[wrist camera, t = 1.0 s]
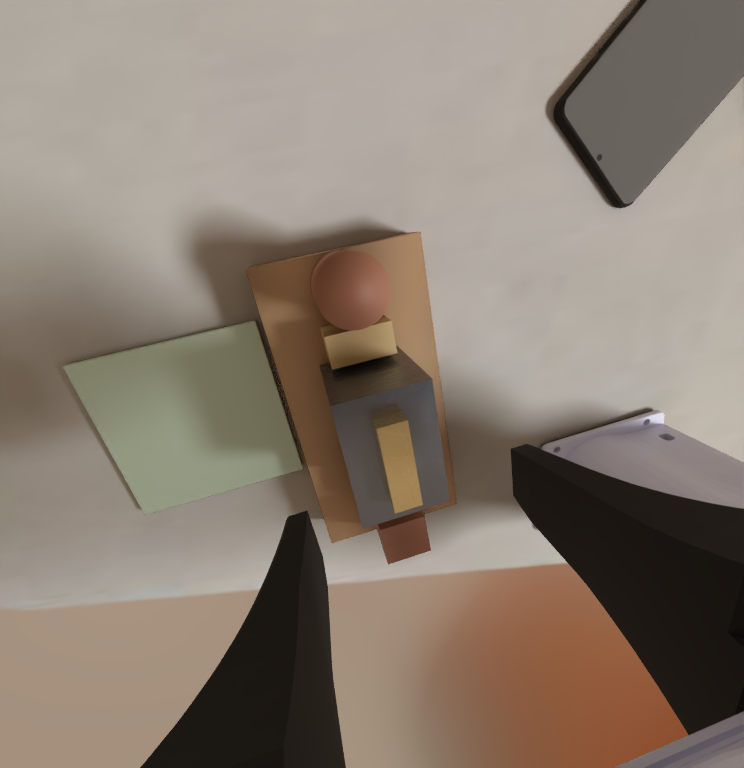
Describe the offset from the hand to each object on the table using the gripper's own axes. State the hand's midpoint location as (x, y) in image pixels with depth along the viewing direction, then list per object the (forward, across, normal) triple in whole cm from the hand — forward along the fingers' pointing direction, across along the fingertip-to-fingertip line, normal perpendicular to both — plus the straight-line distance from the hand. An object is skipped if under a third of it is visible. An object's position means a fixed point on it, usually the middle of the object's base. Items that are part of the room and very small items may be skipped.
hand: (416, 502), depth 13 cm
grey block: (+8, 0, 0) cm, 8 cm away
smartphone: (+10, -20, -14) cm, 27 cm away
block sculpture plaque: (+10, 0, 0) cm, 10 cm away
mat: (+10, +9, -1) cm, 13 cm away
